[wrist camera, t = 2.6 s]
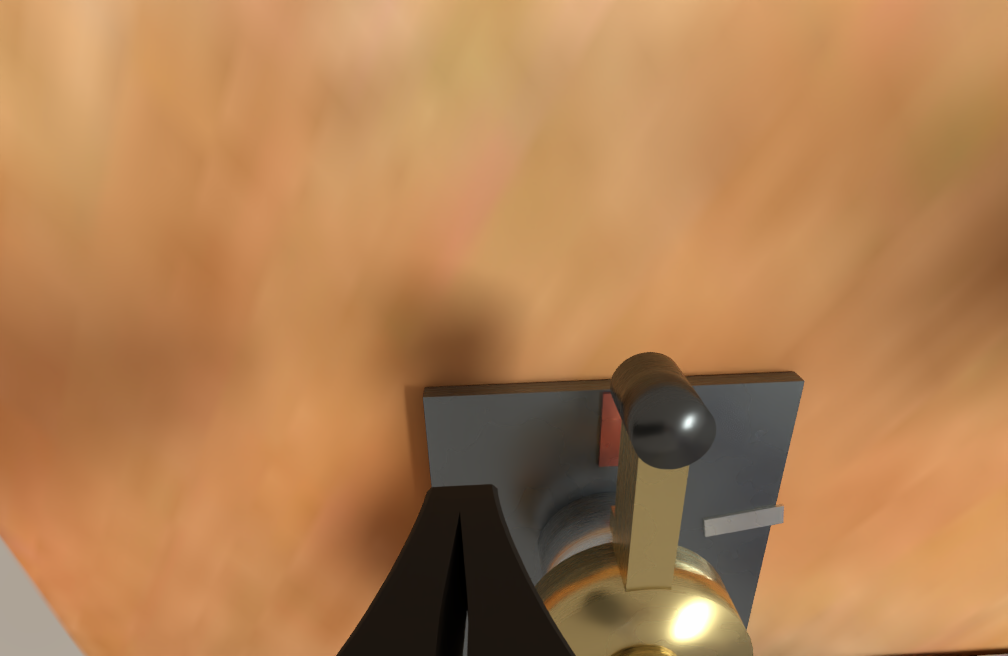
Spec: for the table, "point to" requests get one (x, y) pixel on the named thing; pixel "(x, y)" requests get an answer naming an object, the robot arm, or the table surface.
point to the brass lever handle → (648, 536)
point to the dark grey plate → (616, 466)
